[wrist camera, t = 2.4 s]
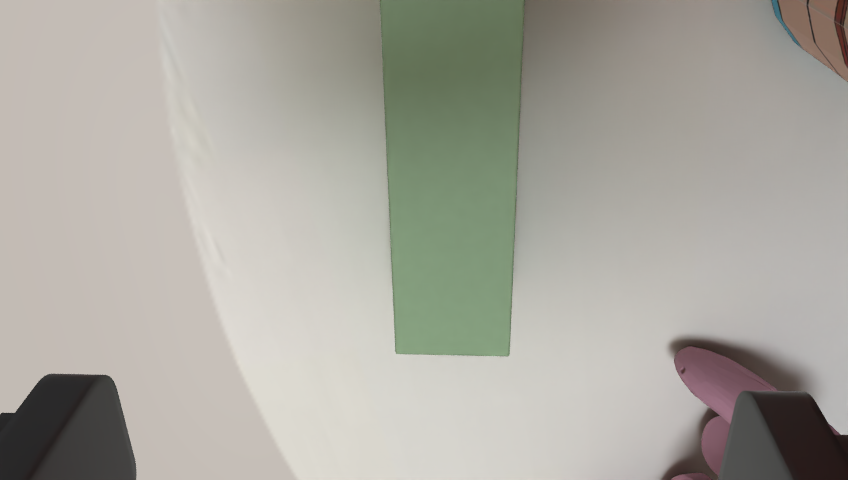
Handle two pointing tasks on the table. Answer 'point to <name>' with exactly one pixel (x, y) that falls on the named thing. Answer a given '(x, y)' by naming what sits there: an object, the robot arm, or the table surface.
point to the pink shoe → (716, 397)
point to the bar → (452, 170)
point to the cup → (818, 29)
